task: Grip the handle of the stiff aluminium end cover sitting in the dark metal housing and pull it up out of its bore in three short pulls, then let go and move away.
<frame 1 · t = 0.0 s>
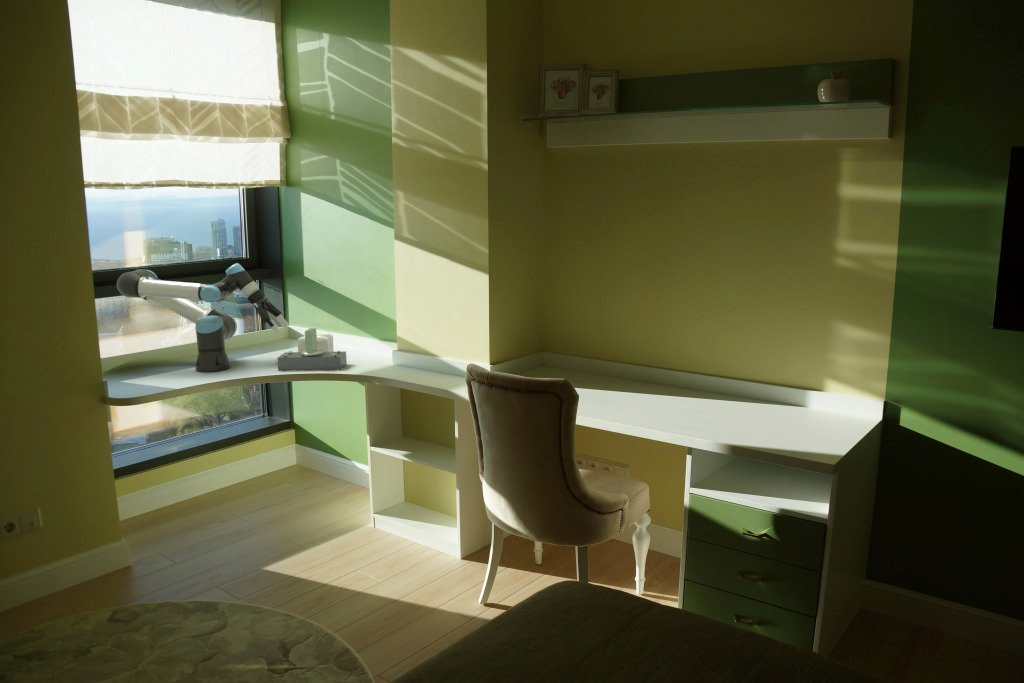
hand: (282, 329, 388), 15 cm above the table, tool tilted 35°, fingers open, 13 cm apart
housing: (312, 367, 376), on the table
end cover: (311, 347, 374), point 9 cm above the table, slide at 0.0 cm
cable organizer: (317, 359, 395), on the table
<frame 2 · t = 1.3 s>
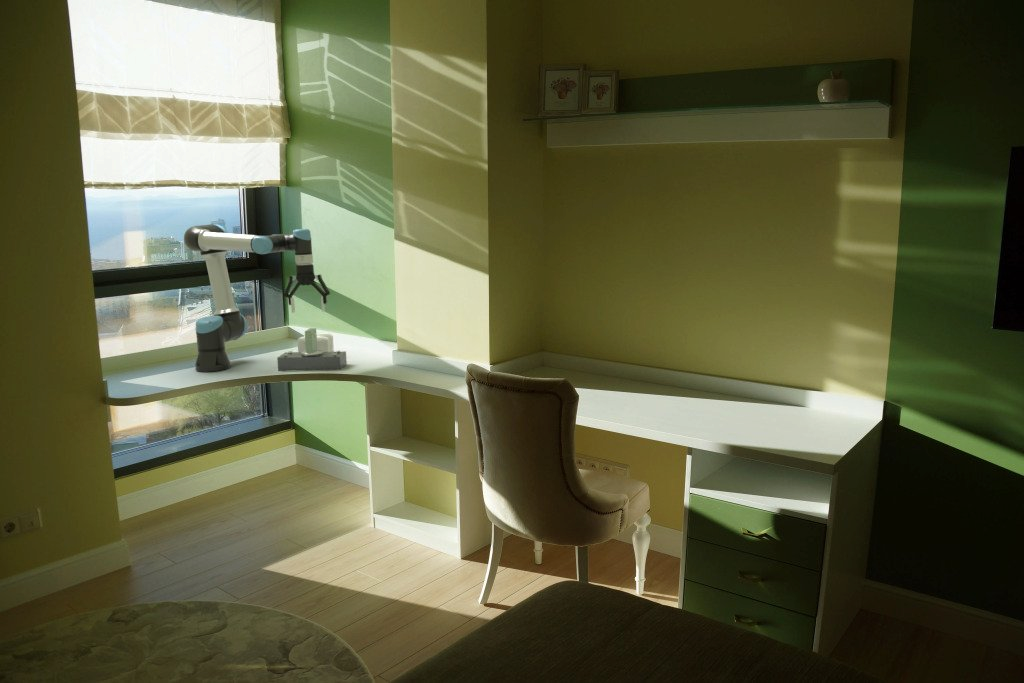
hand: (308, 311, 372), 25 cm above the table, tool pointing down, fingers open, 13 cm apart
nothing on the table moved.
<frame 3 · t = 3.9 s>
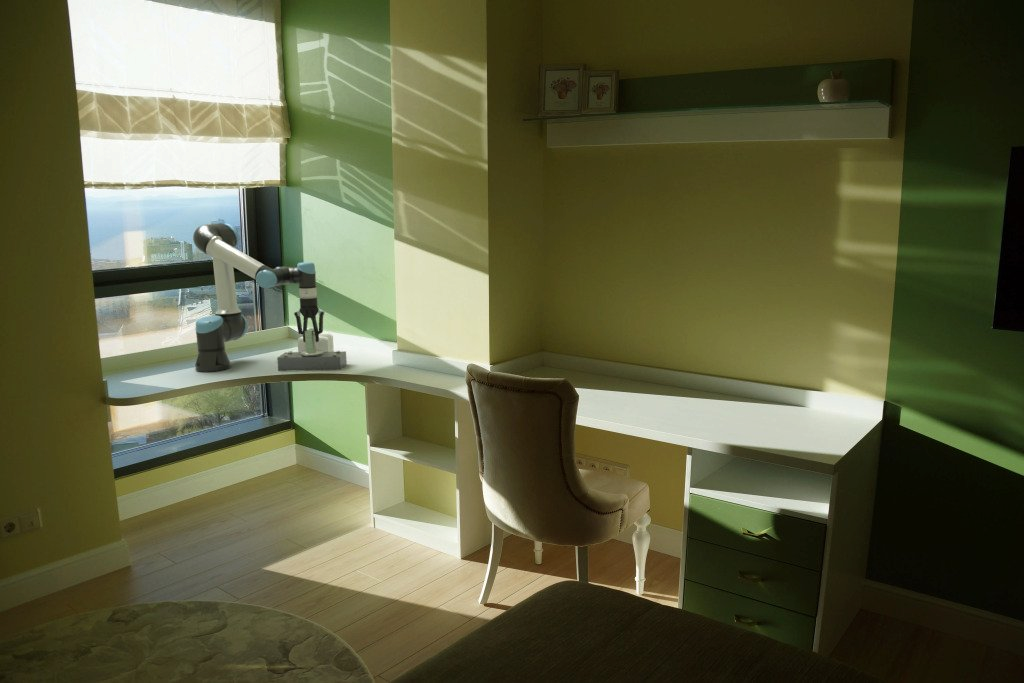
hand: (311, 348, 374), 9 cm above the table, tool pointing down, fingers closed on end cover, 3 cm apart
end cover: (311, 347, 374), point 9 cm above the table, slide at 0.0 cm, touching gripper
everything else where it was.
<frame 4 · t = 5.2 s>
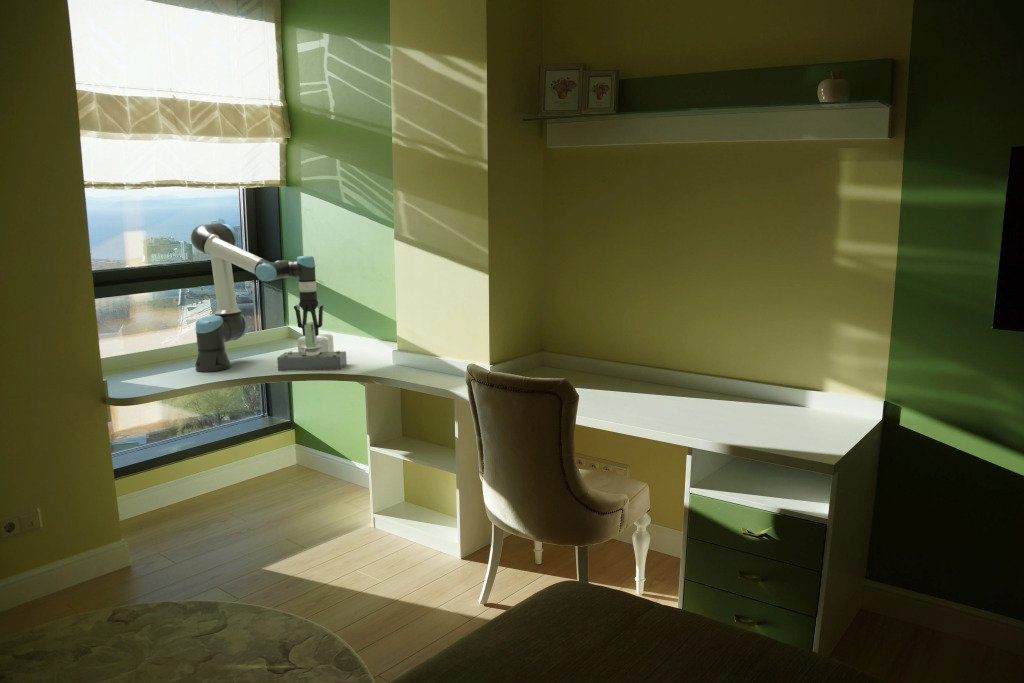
hand: (311, 342, 374), 11 cm above the table, tool pointing down, fingers closed on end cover, 3 cm apart
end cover: (311, 341, 374), point 12 cm above the table, slide at 2.9 cm, touching gripper
everything else where it was.
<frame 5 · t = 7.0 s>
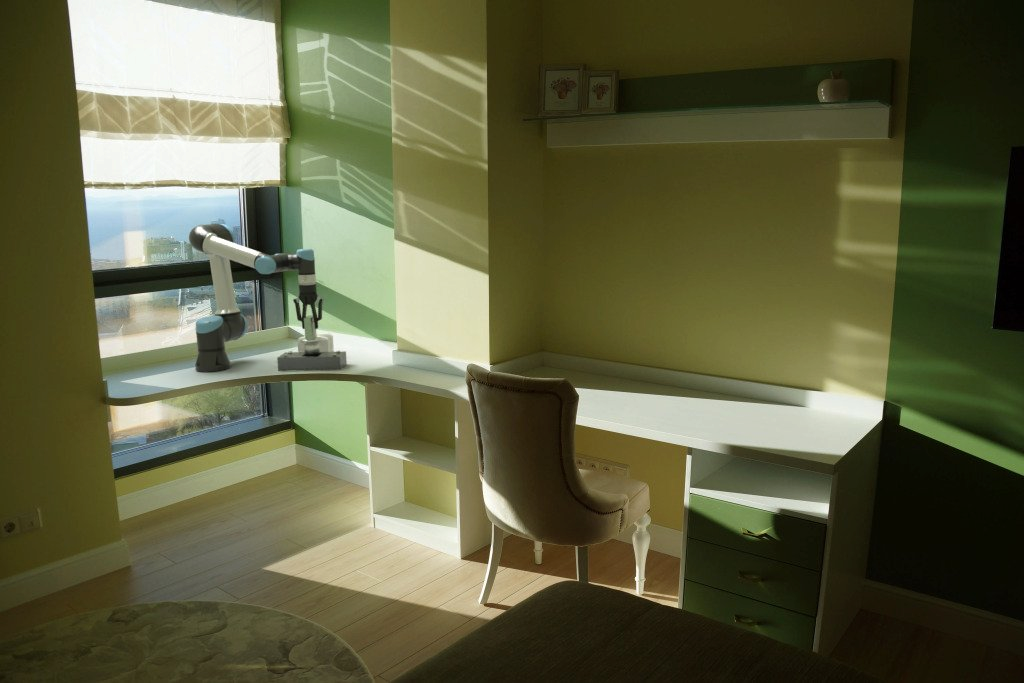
hand: (310, 335, 373), 15 cm above the table, tool pointing down, fingers closed on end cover, 3 cm apart
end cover: (310, 334, 373), point 15 cm above the table, slide at 5.9 cm, touching gripper
everything else where it was.
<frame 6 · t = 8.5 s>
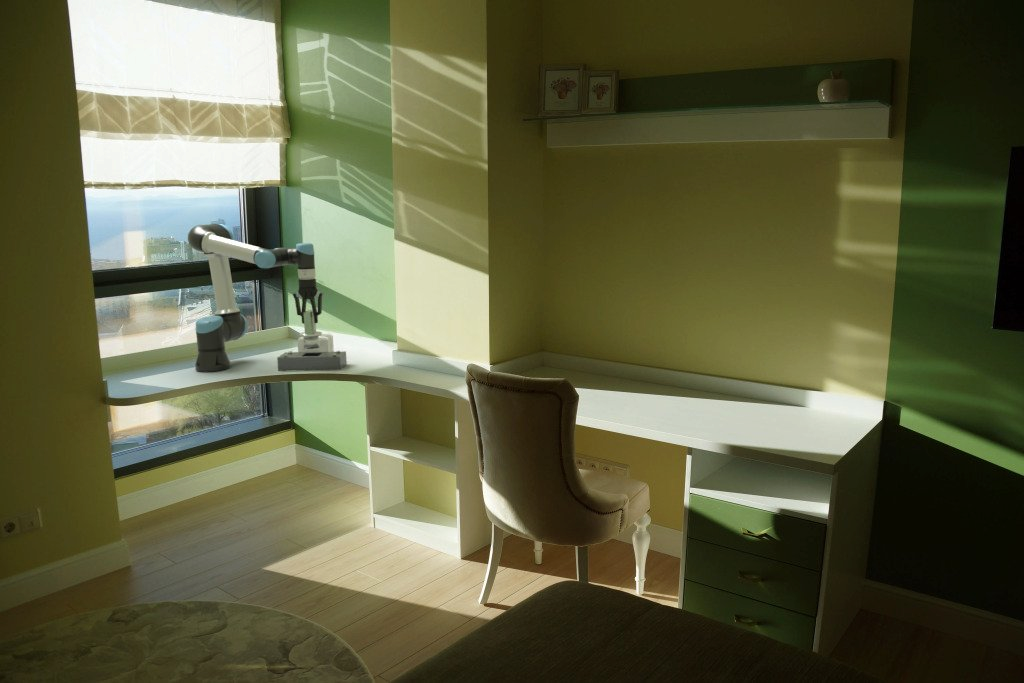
hand: (310, 330, 373), 17 cm above the table, tool pointing down, fingers closed on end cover, 3 cm apart
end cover: (310, 329, 373), point 18 cm above the table, slide at 8.5 cm, touching gripper
everything else where it was.
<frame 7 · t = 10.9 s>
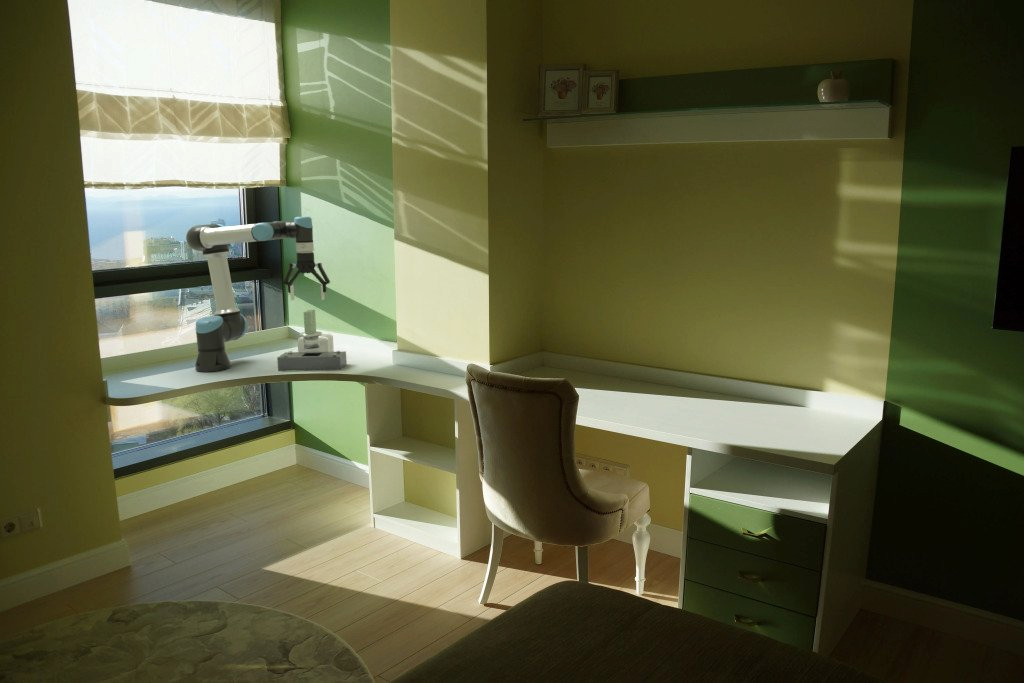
hand: (307, 299, 370), 31 cm above the table, tool pointing down, fingers open, 13 cm apart
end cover: (310, 329, 373), point 18 cm above the table, slide at 8.5 cm
everything else where it was.
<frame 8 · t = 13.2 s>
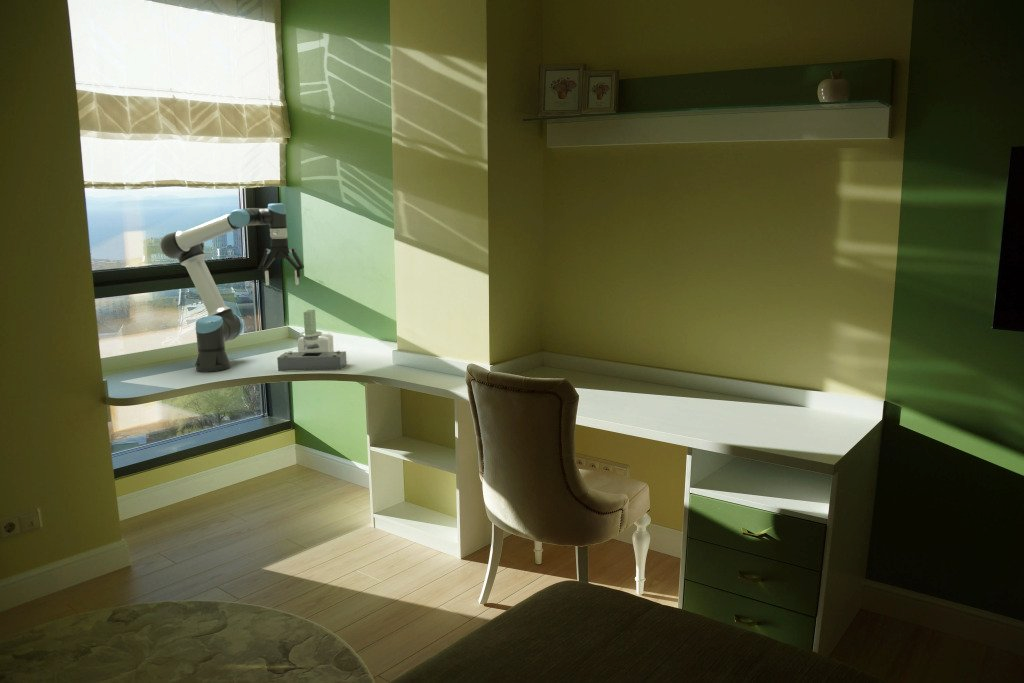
hand: (282, 285, 378), 37 cm above the table, tool pointing down, fingers open, 13 cm apart
nothing on the table moved.
at the end: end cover slide at 8.5 cm; the gripper is holding nothing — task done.
